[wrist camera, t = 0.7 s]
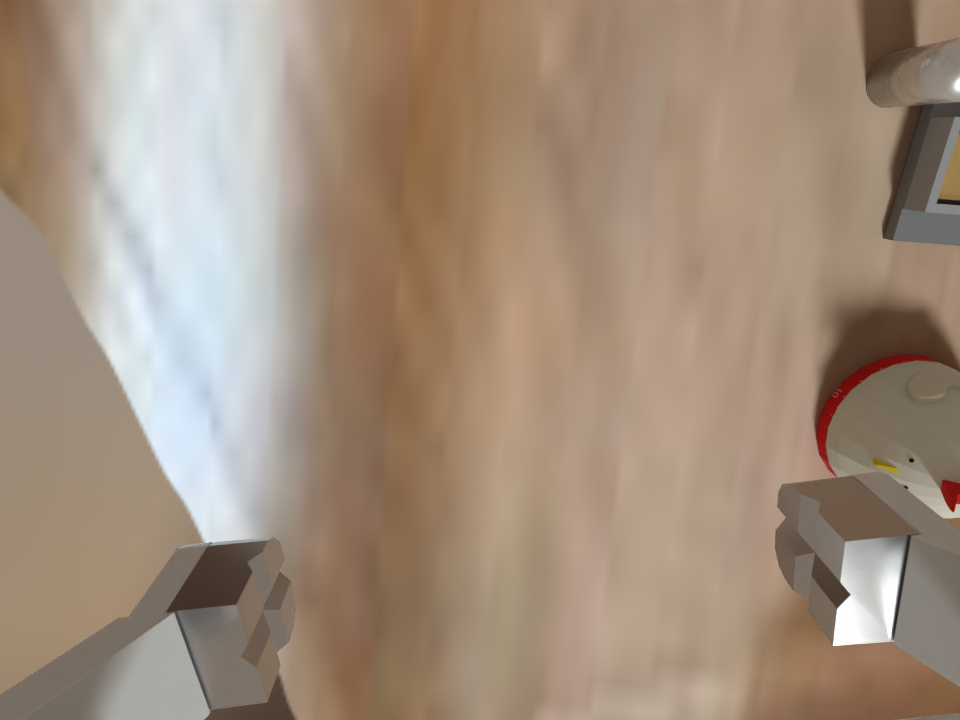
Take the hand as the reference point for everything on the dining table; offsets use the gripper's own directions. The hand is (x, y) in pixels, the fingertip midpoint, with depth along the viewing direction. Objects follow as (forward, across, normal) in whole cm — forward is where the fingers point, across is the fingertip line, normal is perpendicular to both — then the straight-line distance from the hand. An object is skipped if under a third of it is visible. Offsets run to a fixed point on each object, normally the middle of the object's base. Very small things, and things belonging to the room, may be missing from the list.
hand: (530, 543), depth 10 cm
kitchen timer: (+43, -36, +24) cm, 61 cm away
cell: (+43, -33, -7) cm, 55 cm away
